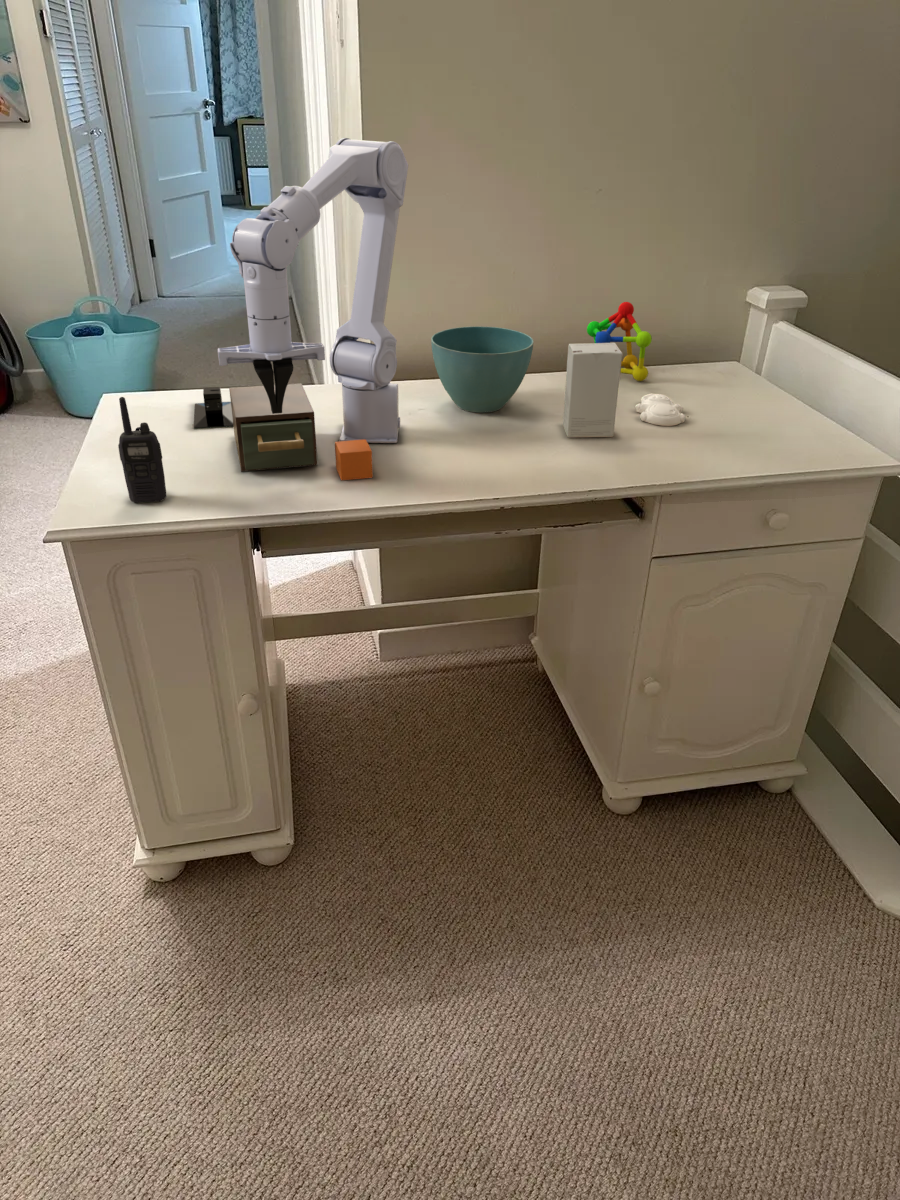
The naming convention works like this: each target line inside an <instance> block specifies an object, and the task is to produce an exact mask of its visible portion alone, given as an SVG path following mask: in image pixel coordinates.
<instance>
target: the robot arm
mask: <svg viewBox="0 0 900 1200" xmlns="http://www.w3.org/2000/svg"><path fill="white" fill-rule="evenodd" d="M328 149H329V150H328V157H327V159H326V160H325V162H323V164H322V165H321V166H320V167H319V169H317V170H316V172H315V173H313V174H312V175H311V177H310V178H309V179H308V180H307V182H306V183H305V184H304V185H303V186H299V185H292V186H291V185H290V186H289V185H285V186H284V187H282V188H281V189H280V195H278V196H277V198H276V199H274V200H273V201H272V202H271V203H269V205H267V206H264V207H263V208H262V209H260V213H259V214H257V215H256V217H255V218H253V217H252V218H251V217H246V218H244V219H242V220H241V221H240V222H239V223H238V224H237V225H235V227H234V230H233V232H232V237H231V242H230V243H229V248H230V251H231V254H232V256H233V258H234V260H235V261H236V262H237V265H238V272H239V275H240V276H241V278H242V279H243V285H244V286H243V287H244V295H245V296H244V297H245V307H246V315H247V316H246V317H247V327H248V337H249V343H248V344H242V345H235V346H226V347H218V348H217V357H218V358H217V359H218V364H219V366H220V367H224V366H228V365H234V364H251V363H252V365H253V369H254V371H255V373H256V374H257V377H258V378H259V380H260V382H261V384H262V386H264V388H265V390H266V392H267V395H268V397H269V401H270V405H271V411H272V414H277V413H282V407H283V400H284V395H285V391H286V387H287V385H288V384H289V382H290V379H291V377H292V375H293V372H294V363H293V361H306V360H307V361H309V360H317V361H326V352H325V351H326V349H325V345H324V343H323V342H298V341H297V342H296V341H295V342H294V341H292V340H293V339H292V327H291V313H290V301H289V300H290V298H289V286H288V285H289V284H288V271H287V267H289V266H290V265H291V264H292V262H293V260H294V256H295V254H296V249H297V247H299V243H300V241H301V240H302V239H303V238H304V237H305V236H306V235H308V233H309V232H311V230H313V229H314V228H315V227H316V226H317V225H318V224H319V222H320V220H321V209H322V208H324V207H325V206H326V205H328V204H329V203H330V202H331V201H333V199H335V198H336V197H337V196H339V195H340V194H341V193H342V192H344V191H345V193H347V194H348V196H349V197H350V198H351V199H352V201H353V202H355V203H357V204H358V205H359V207H360V209H361V211H362V213H363V218H362V225H361V228H362V229H361V234H360V241H359V249H358V250H359V251H358V257H357V265H356V273H355V281H354V288H353V296H352V297H353V298H352V304H351V305H352V306H351V313H350V319H348V320H347V321H346V322H344V323H343V324H341V326H339V327H338V328H337V329H336V334H335V338H334V342H333V345H332V347H331V350H330V352H329V365H330V366H329V367H330V368H331V369H330V370H331V372H332V373H333V374H334V375H335V376H337V382H338V383H340V384H341V392H342V393H341V395H342V397H341V398H342V417H343V424H342V428H341V433H340V437H339V441H350V440H363V439H366V441H367V443H368V444H369V443H370V444H373V443H374V444H397V443H398V437H399V429H400V428H401V417H400V416H399V384H398V383H392V380H393V379H394V377H395V376H396V372H397V368H398V358H397V343H398V342H397V338H396V337H395V335H394V334H393V333H392V332H391V331H390V330H389V329H388V327H387V326H386V325H385V318H386V310H387V303H388V297H389V291H390V290H389V288H390V282H391V273H392V269H393V268H392V267H393V258H394V253H395V246H396V237H397V232H398V224H399V216H400V208H401V207H403V205H404V199H405V192H406V186H407V180H408V179H407V177H408V171H409V163H408V161H407V159H406V156H405V153H404V151H403V148H402V146H401V145H400V144H399V143H398V142H396V141H379V140H378V141H375V140H363V139H351V138H348V137H342V138H339V139H338V140H337V141H336V143H335V144H334V145H332V146H330V147H329V148H328ZM359 339H362V340H369V341H371V342H367V341H361V340H359ZM274 385H275V391H274Z"/></svg>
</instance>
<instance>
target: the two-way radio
mask: <svg viewBox="0 0 900 1200" xmlns="http://www.w3.org/2000/svg"><path fill="white" fill-rule="evenodd" d="M119 408H120V409H119V410H120V415H121V421H122V422H121V423H122V427H123V432H122V433H121V434H120V436H119V440H118V445H117V446H118V447H117V448H118V454H119V460H120V462H121V465H122V470H123V476H124V480H125V481H124V482H125V485H126V488H127V493H128V498H129V500H130V501H131V502H132V503H135V504H136V503H155V502H162V501H163V500H165V499H166V497H167V487H166V478H165V470H164V465H163V453H162V448H161V443H160V442H159V439H158V436H157V435H156V433H155V432H154V431H152V430H151V429H150V426H149V424H148V423H147V422H141V423H140V424H139V426H137V427H136V428H135V429H134V430H132V424H131V419H130V415H129V410H128V406H127V400H126V398H125V397H124V396H120V397H119Z"/></svg>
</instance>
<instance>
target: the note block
mask: <svg viewBox="0 0 900 1200" xmlns="http://www.w3.org/2000/svg"><path fill="white" fill-rule="evenodd" d="M334 453H335V454H334V455H335V458H334V459H335V470H336V471H337V474H338V476H339V479H340V481H351V480H363V479H364V480H365V479H372V478H373V450H372V448H371V446H370V445H369V443H367V441H366V439H363V440H350V441H340V440H338V441H334Z"/></svg>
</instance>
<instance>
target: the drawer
mask: <svg viewBox="0 0 900 1200" xmlns="http://www.w3.org/2000/svg"><path fill="white" fill-rule="evenodd" d="M241 434H242V443H243V453H244V462H245V469H246V470H252V469H264V468H276V467H287V466H299V465H311V464H315V461H314V444H313V428H312V421H311V419H308V420H305V418H292V419H278V420H265V421H251V422H242V424H241Z"/></svg>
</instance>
